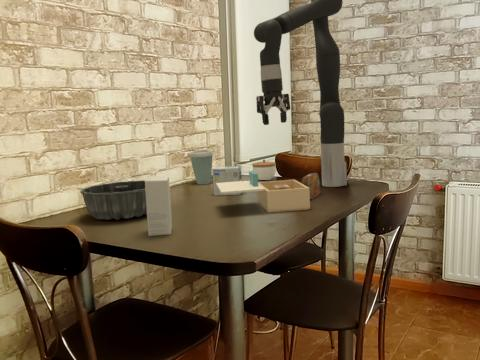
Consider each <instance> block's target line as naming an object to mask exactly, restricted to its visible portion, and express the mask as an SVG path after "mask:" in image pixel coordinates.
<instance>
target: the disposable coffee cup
mask: <svg viewBox="0 0 480 360" xmlns="http://www.w3.org/2000/svg"><path fill="white" fill-rule="evenodd" d="M213 155H214V154H213V152H212V151H211V149H197V150H194V151H191V152H190V154H189V155H188V156H189V157H190V163H191V167H192V170H193V174H194V175H193V176H194V178H195V182H196V184H197V185H207V184H211V182H212V175H213V171H212V169H213Z"/></svg>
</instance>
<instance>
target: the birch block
mask: <svg viewBox="0 0 480 360" xmlns="http://www.w3.org/2000/svg"><path fill="white" fill-rule="evenodd" d="M284 189H290V187H289V186H288V185H276V186H274V190H284Z"/></svg>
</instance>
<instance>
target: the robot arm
mask: <svg viewBox="0 0 480 360" xmlns="http://www.w3.org/2000/svg"><path fill="white" fill-rule="evenodd" d="M342 8H343V0H311V1H310V2H309V3H306V4H304V5H300V6H298V7H295V8H291V9H290V10H287V11H285V12H283V13H281V14H279V15H277V16H275V17H273V18H270V19H267V20H265V21H261V22H259V23H258V24H257V25H256V26H255V27H254V30H253V36H254V39H255V40H256V42H259V43H262V44H264V48H263V49H261V51H260V52H259V61H260V62H259V63H260V83H261V93H263V95H256V98H255V99H256V100H255V101H256V113H257V114H261V119H262V123H263V125H265V126H268V125H269V124H270V119H269V111H270V110H271V109H272V108H274V107H275V108H277V109H278V111H280V113H279V115H280V123H282V124H283V123H287V112H288V111H290V110H291V102H290V95H289V93H283V92H282V91H283V90H284V89H283V87H284V86H283V75H282V68H281V59H280V50H281V44H282V37H283V35H285V34H289V33H290V32H293V31H295V30H297V29H299V28H301V27H303V26H306V25H307V24H309V23H310V22H312V26H313V33H314V43H315V44H314V45H315V62H316V64H315V65H316V73H317V80H318V81H317V82H318V85H319V93H320V96H319V97H320V99H319V102H320V104H319V114H318V116H319V119H320V122H319V123H320V124H319V125H320V137H319V138H320V162H321V163H320V166H321V167H320V168H321V185H322V187H327V188H335V187H337V188H338V187H339V188H340V187H343V186H348V178H347V176H348V174H347V161H346V160H345V112H344V111H345V110H344V109H343V107H342V106H341V100H340V94H339V91H340V90H339V89H340V88H339V85H340V78H341V77H340V76H341V55H340V54H341V53H340V49H339V46H338V44H337V43H336V41H335V38H334V37H333V35H332V34H331V32H330V26H329V25H330V24H329V17H331V16H335V15H337V14H339V12H340V11H341V10H342Z"/></svg>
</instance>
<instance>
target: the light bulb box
mask: <svg viewBox="0 0 480 360" xmlns="http://www.w3.org/2000/svg"><path fill="white" fill-rule="evenodd" d="M241 170H242V167H241V165H231V166H227V165H226V166H214V167H212V181H213V182H212V183H213V196H215V197H216V196H240V195H241V194H242V193H243V192H240V193H227V194H221V192H220V191H219V189H218V187H217V185H216V183H223V182H236V181H243V180H242V171H241Z"/></svg>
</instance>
